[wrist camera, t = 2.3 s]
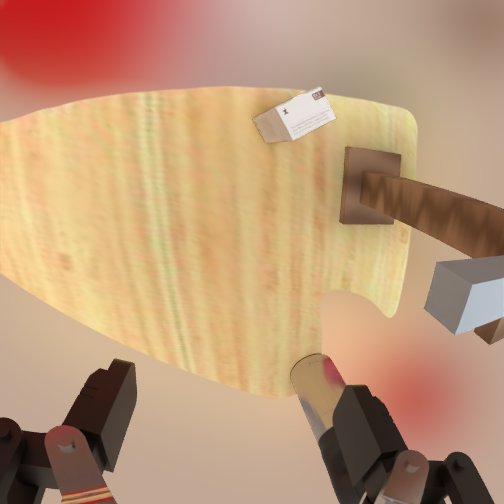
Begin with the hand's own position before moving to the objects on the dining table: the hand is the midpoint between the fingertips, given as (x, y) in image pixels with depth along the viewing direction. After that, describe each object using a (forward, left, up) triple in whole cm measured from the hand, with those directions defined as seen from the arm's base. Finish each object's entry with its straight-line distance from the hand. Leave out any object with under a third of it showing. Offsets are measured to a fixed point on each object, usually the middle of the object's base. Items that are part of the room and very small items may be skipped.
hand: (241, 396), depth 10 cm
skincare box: (+12, -10, -35) cm, 38 cm away
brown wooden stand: (+3, -25, -34) cm, 42 cm away
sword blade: (+3, -19, -1) cm, 20 cm away
